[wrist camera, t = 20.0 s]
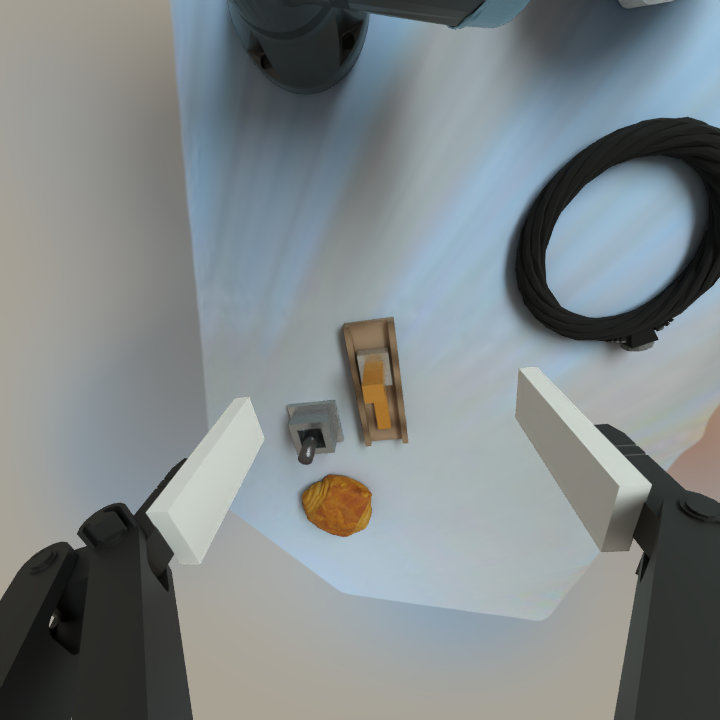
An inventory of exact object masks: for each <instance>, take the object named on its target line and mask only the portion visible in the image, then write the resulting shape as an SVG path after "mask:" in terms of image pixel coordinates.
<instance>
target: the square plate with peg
mask: <svg viewBox="0 0 720 720" xmlns="http://www.w3.org/2000/svg"><path fill="white" fill-rule="evenodd" d="M287 408H288V411H289V415H290V418H291V417H292V415H293V413H294V412H295V411H305V410H316V409H327V408H330V409H331V413H332V417H333V421H334V426H335V430H336V434H337V442H339V441H343V440H344V436H343V432H342V428H341V423H340V419H339V415H338V411H337V406H336V402H335V400H329V401H319V402H309V403H299V404H289V405H288V407H287ZM306 431H307V433H306V436H305V439H304V442H303V445H302V448H301V451H300V453H299V456H298V460H299V462H300V463H302V464H305V465H308V464H310V463H312V460H313V457H314V453H315V450H316V446H317V442H318V439H319V435H320V434H322V430H321V428H318V429H306Z"/></svg>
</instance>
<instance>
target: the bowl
mask: <svg viewBox="0 0 720 720" xmlns="http://www.w3.org/2000/svg"><path fill="white" fill-rule="evenodd" d="M669 1H674V0H618V2H619V3H620V4H621V5H622V7H624V8H626V9H628V8H635V7H640V6H645V5H652V4H659V3H664V2H669Z"/></svg>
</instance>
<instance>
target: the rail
mask: <svg viewBox="0 0 720 720" xmlns="http://www.w3.org/2000/svg"><path fill="white" fill-rule="evenodd" d="M343 331H344V336H345V341H346V347H347V352H348V357H349V362H350V367H351V372H352V377H353V382H354V387H355V393H356V398H357V403H358V408H359V413H360V418H361V423H362V428H363V433H364V439H365V444H366V446H371V441H377V440H389V439H401V438H402V440H403V443H408V436H407V427H406V419H405V410H404V402H403V393H402V385H401V376H400V368H399V359H398V351H397V342H396V334H395V325H394V317H389V318H381V319H374V320H366V321H358V322H351V323H345V324H344V327H343ZM386 347H388V353H389V360H390V368H391V376H392V385H387V386H385V387H386V394H387V401H388V408H389V415H390V422H391V428H389V429H378V425H377V419H376V413H375V407H374V403H367V404H365V401H364V395H363V390H362V382H361V376H360V371H359V365H358V360H357V352H358V351H361V350H370V349H378V348H386Z"/></svg>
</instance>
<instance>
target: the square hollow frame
mask: <svg viewBox="0 0 720 720" xmlns="http://www.w3.org/2000/svg"><path fill="white" fill-rule="evenodd" d="M288 426H289V429H290V432H291V436H292V439H293V442H294V445H295V448H296V451H297V454H298V455H299V453H300V451H301V448H302V445H303V442H304V439H305V436H306V433H307V431H306V429H318V428H321V430H322V434H320V435H319V439H318V442H317V446H316V450H315V453H314V454H320V453H333V452H335V448H336V442H337V434H336V430H335V426H334V421H333V417H332V413H331V409H330V408H327V409H316V410H305V411H295V412H294V413H293V415H292V417H291V420H290V422H289V424H288Z"/></svg>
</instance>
